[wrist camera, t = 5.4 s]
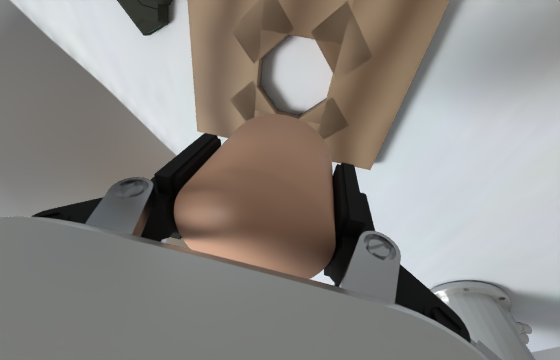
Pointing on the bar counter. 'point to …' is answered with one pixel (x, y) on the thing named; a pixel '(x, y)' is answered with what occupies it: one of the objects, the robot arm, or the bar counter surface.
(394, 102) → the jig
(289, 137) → the tan rounded lump
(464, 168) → the bar counter surface
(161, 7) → the firearm
